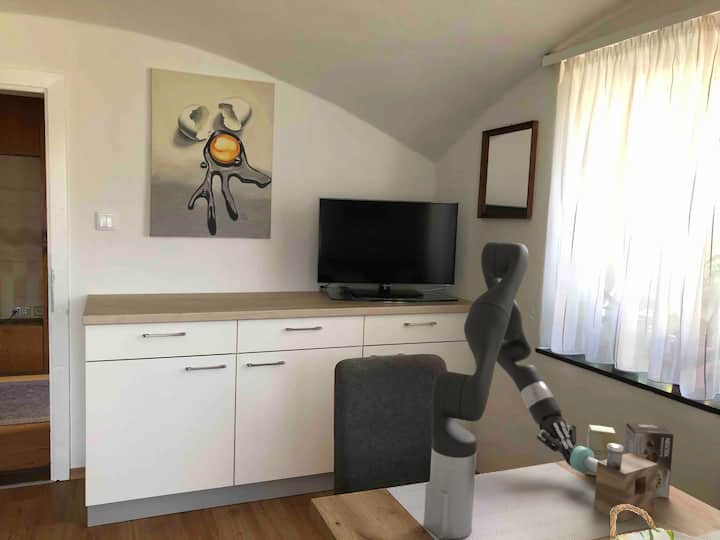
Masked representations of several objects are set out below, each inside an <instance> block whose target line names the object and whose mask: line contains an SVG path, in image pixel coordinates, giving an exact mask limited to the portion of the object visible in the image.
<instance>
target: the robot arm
mask: <svg viewBox="0 0 720 540" xmlns="http://www.w3.org/2000/svg"><path fill="white" fill-rule="evenodd" d="M529 259H530V258H529V251H528V248H527V246H525V244H523V243H518V242H502V241H501V242H500V241H489V242H487V243H485V244H484V246H483V248H482V250H481V256H480V266H481V272H482V275H483V279H484V282H485V286H486V289H487V290H486V291H485V292H483V293H482V294H481V295H480V296H478V297H477V298H476V299H475V300H474V301H473V302H472V304H471V306H470V308H469V311H468V314H467V315H466V319H465V323H464V324H463V325H464V327H463V332H464V337H465V339H466V341H467V344H468V347H469V349H470V351H471V353H472V355H473V358H474V363H475V367H476V369H475V371H474V373H473V374H467V373H466V374H465V373H460V372H455V371H454V372H453V371H447V370H442V371H439V373H437V374H436V376H435V378H434V380H433V383H432V389H431V428H430V429H431V431H430V432H431V454H430V455H431V456H430V473H429V475H430V476H429V481H427V482H426V483H425V497H424V514H423V516H424V517H423V526H424V527H425V528H427V529H428V530H429V531H430V532H431V533H433V534H434V535H435V536H436V537H438V538H439V539H441V540H443V539H451V540H453V539H454V540H458V539H462V538H467V537H468V536H470V534H471V533H472V529H473V527H472V526H473V511H474V497H475V494H474V493H475V479H476V478H475V477H476V464H477V447H478V445H477V438H476V436H475V435H474V434H473V433H471V432H470V431H469V430H467V429H466V428H464V427H463V426H462V425H460V424H459V423H458V422H457V421H456V420H462V421H466V422H467V421H468V422H479V420H481V418H483V415H484V414H485V411H486V408H487V407H486V406H487V403H488V399H489V395H490V391H491V386H492V381H493V376H494V372H495V367H496V363H497V364H498V365H499V366H500V367H501V368H502V369H503V370H504V372H505V373H507V375H508V376H509V377H510V378H511V379H512V380H513V382H514V384H515V386H516V389H518V391H519V393H520V395H521V398H522V400H523V403H524V404H525V406H526V408H527V410H528V411H529V413H530V416H531V417H532V419H533V421H534V423H535V424H536V425H539V430H540V431H539V434H538V435H536V438H537V439H538V440H539V442H541V443H542V444H544V445H545V446H546V447H548V449H550V450H551V451H553V452H559V453H560V454H561V455H562V457H563V458H564V460H565V462H566V464H568V466H569V467H571V465H570V456H571V453H572V451H573V450H574V446H575V445H577V427H576V425H575V424H572V425H569V424H568V423H567V421H566V420H565V419H564V418H563V417H562V412H563V411H562V409H561V407H560V405H559V404H558V402H557V400H556V399H555V397H554V395H553V393H552V392H551V390H550V388H549V387H548V386H547V385H546V383H545V382H544V379H543V377H542V376H541V375H540V372H539V371H538V369H537V367H536V366H535V365H532V364H523V365H522V364H521V365H519V364H517V363H519V362H521V361H524V360H526V359H528V358H529V357H530V356H531V353H532V347H531V344H530V342H529V340H528V339H527V337H526V334H525V330H524V327H523V318H522V317H523V316H522V311H521V308H520V306H519V304H518V303H517V301H516V297H517V293H518V291H519V289H520V287H521V285H522V282H523V279H524V278H525V275H526V272H527V270H528V264H529Z"/></svg>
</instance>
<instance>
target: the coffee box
mask: <svg viewBox="0 0 720 540" xmlns="http://www.w3.org/2000/svg"><path fill="white" fill-rule="evenodd" d="M674 437H675V436H674V433H673V432H671V431H670V429H669V428H667V426H665V425H664V424H652V423H651V424H650V423H633V422H631V423H630V422H626V430H625V443H624V454H628V453H632V454H635V455H637V456H640V457H642V458H644V459H647V460H649V461H652V462H654V463H657V464H658V470H657V481H656V492H655V498H670V490H671V489H670V487H671V475H672V473H671V472H672V471H671V470H672V460H673V447H674Z"/></svg>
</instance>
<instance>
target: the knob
mask: <svg viewBox="0 0 720 540" xmlns="http://www.w3.org/2000/svg"><path fill="white" fill-rule="evenodd" d="M597 463H598V460H596V459H594V453H593V451H592V450H590V449H587V448H586V447H585V446H583V445H578V446H576V447H575V448H573V451H572V453H571V456H570V465H571V466H570V467H571V469H573V470H575V471H577V472H579V473H581V474H586V473H587V472H588V471H590V470H592V471H594V472H597Z"/></svg>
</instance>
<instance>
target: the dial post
mask: <svg viewBox="0 0 720 540" xmlns="http://www.w3.org/2000/svg"><path fill="white" fill-rule="evenodd" d="M607 449H608V454H607V467H608V468H610V469H614V470H620V469H621V463H622V455H623V452H625V446H624V445H621V444H618V443H609V444H607Z"/></svg>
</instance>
